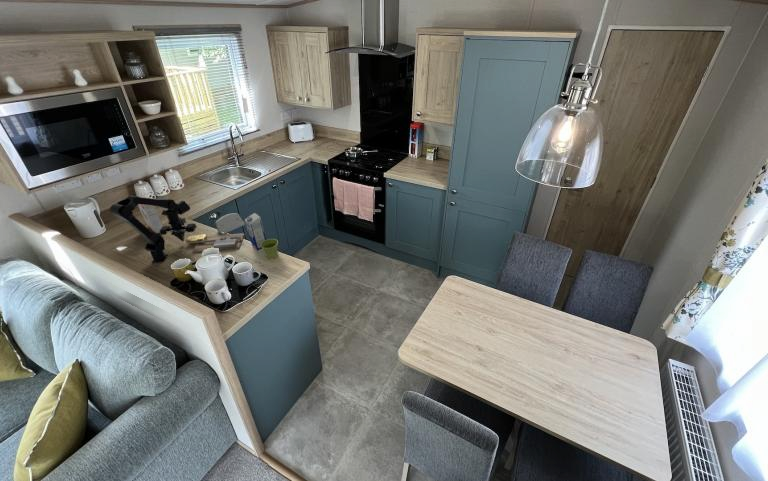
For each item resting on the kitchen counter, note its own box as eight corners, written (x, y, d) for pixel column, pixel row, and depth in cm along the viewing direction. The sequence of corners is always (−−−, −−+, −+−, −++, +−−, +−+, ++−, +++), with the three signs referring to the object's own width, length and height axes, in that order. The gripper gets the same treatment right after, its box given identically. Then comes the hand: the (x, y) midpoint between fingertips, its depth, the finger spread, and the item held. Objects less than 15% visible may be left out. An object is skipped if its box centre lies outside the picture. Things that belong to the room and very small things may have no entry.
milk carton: (267, 245, 204) (260, 216, 193) (257, 250, 200) (249, 220, 189) (262, 241, 208) (254, 212, 197) (251, 245, 204) (243, 216, 193)
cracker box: (147, 227, 226) (134, 199, 215) (157, 223, 230) (144, 195, 218) (155, 234, 218) (142, 205, 207) (165, 230, 222) (152, 201, 211)
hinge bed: (238, 248, 202) (237, 243, 200) (193, 253, 199) (190, 247, 197) (244, 234, 215) (242, 229, 213) (201, 238, 213) (199, 233, 211)
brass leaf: (204, 242, 206) (202, 238, 205) (186, 243, 205) (185, 240, 204) (207, 237, 211) (205, 233, 210) (190, 238, 210) (188, 235, 209)
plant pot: (284, 255, 195) (281, 242, 190) (269, 263, 189) (266, 250, 184) (275, 249, 200) (271, 236, 196) (260, 256, 194) (257, 244, 190)
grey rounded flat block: (221, 234, 216) (214, 220, 212) (218, 234, 219) (211, 220, 216) (245, 224, 226) (239, 210, 223) (242, 224, 229) (236, 210, 226)
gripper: (194, 210, 206) (203, 232, 215) (162, 213, 204) (172, 235, 213) (188, 219, 197) (197, 242, 206) (154, 222, 195) (165, 245, 204)
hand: (183, 240), depth 207 cm, fingers closed
